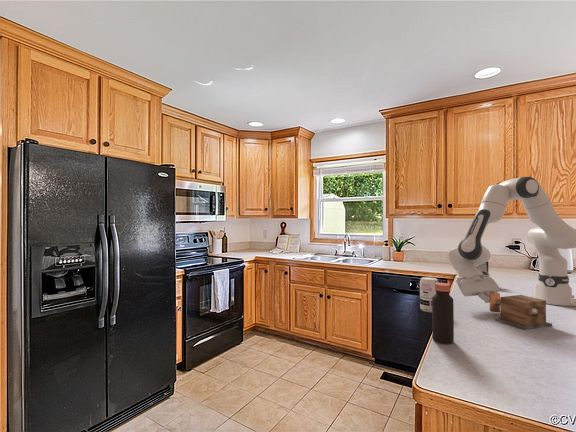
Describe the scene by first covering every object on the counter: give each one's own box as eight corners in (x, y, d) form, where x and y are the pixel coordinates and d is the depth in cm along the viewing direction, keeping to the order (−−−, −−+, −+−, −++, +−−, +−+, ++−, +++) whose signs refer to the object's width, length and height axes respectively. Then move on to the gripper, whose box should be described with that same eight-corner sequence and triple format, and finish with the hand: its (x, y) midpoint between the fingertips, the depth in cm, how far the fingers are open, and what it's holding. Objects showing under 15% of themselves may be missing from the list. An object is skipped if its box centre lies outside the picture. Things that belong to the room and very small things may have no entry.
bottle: (450, 346, 106) (450, 286, 107) (429, 341, 111) (429, 284, 111) (456, 340, 111) (455, 283, 112) (435, 335, 116) (435, 281, 116)
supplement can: (437, 308, 151) (437, 277, 151) (440, 313, 143) (439, 280, 143) (419, 307, 153) (419, 276, 154) (420, 312, 146) (420, 279, 146)
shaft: (493, 309, 144) (493, 291, 145) (539, 322, 126) (538, 302, 126) (487, 310, 143) (487, 292, 143) (532, 323, 125) (531, 303, 125)
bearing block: (522, 316, 138) (521, 294, 138) (552, 325, 127) (552, 300, 127) (494, 320, 133) (494, 296, 133) (523, 329, 122) (523, 304, 122)
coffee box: (489, 287, 198) (488, 261, 198) (477, 287, 199) (477, 261, 199) (483, 284, 207) (483, 259, 207) (472, 284, 208) (472, 259, 208)
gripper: (458, 274, 149) (476, 300, 139) (490, 272, 155) (510, 296, 145) (450, 282, 153) (467, 307, 143) (482, 279, 159) (501, 303, 150)
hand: (489, 302), depth 144 cm, fingers closed, pressing on shaft
